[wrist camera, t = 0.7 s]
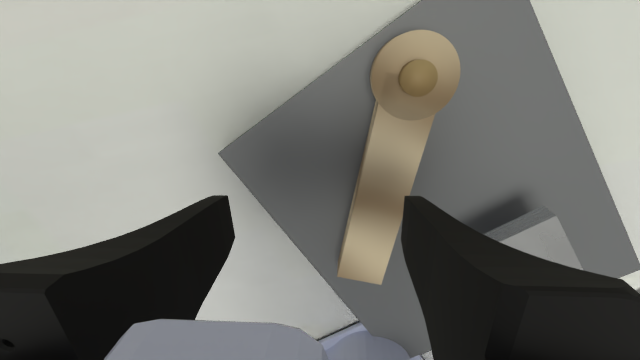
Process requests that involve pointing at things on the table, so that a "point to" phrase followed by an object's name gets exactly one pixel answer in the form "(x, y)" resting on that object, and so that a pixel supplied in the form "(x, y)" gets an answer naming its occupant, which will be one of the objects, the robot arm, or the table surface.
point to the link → (395, 145)
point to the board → (437, 156)
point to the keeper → (538, 237)
